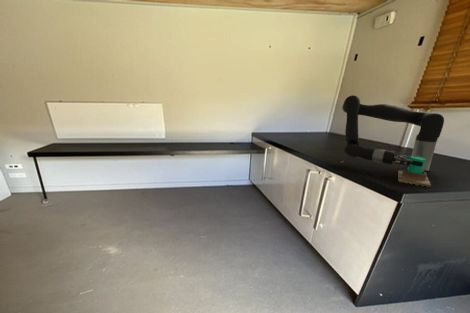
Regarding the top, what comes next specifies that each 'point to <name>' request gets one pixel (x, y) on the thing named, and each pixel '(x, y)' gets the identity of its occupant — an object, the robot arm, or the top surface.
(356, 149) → the robot arm
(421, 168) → the candle
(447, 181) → the top surface
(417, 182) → the cup stand
